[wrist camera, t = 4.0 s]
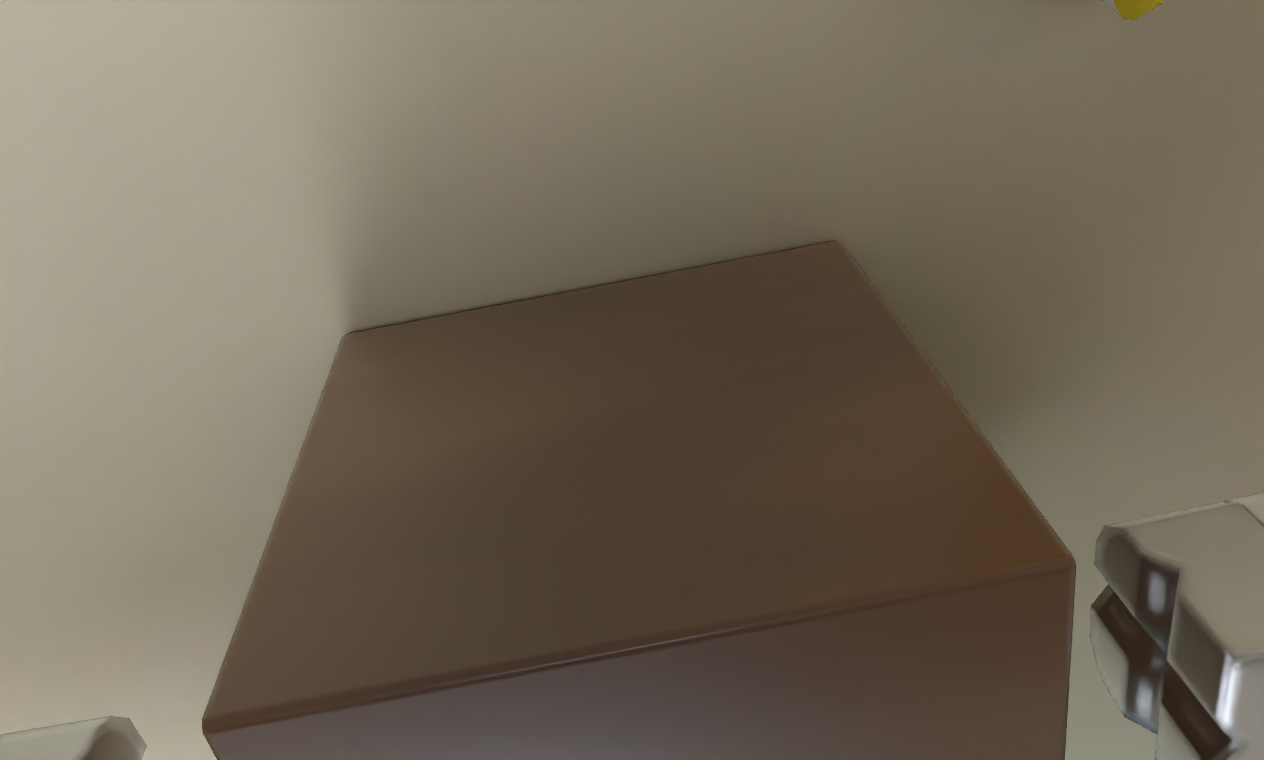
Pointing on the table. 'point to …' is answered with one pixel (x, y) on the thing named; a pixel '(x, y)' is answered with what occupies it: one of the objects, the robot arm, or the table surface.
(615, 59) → the table surface
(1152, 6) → the yellow segmented toy
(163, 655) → the table surface
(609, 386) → the block
